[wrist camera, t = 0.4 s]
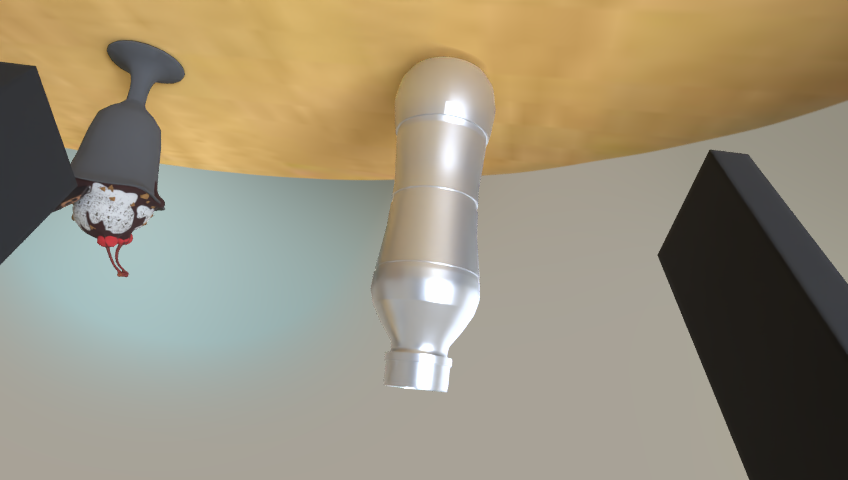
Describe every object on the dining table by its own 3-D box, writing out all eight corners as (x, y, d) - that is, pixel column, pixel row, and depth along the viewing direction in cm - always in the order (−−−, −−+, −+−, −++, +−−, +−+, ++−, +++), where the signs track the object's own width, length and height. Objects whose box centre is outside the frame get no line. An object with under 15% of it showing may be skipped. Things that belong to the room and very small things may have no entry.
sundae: (204, 95, 42) (158, 287, 38) (109, 75, 41) (51, 272, 37) (191, 46, 36) (134, 268, 32) (79, 21, 35) (5, 249, 31)
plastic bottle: (410, 100, 40) (374, 385, 34) (389, 41, 34) (341, 379, 28) (500, 100, 39) (478, 396, 33) (496, 39, 32) (467, 392, 27)
